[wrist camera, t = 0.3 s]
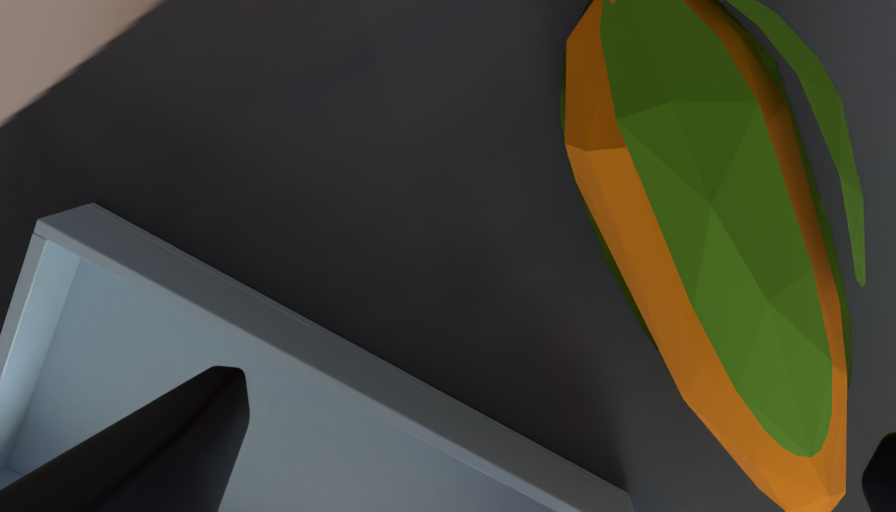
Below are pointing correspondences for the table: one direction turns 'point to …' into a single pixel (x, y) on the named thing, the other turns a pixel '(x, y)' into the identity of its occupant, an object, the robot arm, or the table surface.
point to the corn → (722, 224)
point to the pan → (248, 387)
